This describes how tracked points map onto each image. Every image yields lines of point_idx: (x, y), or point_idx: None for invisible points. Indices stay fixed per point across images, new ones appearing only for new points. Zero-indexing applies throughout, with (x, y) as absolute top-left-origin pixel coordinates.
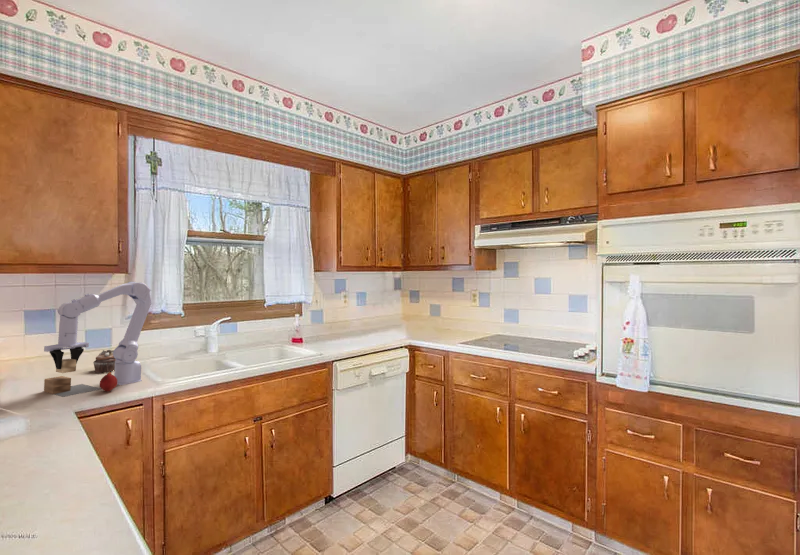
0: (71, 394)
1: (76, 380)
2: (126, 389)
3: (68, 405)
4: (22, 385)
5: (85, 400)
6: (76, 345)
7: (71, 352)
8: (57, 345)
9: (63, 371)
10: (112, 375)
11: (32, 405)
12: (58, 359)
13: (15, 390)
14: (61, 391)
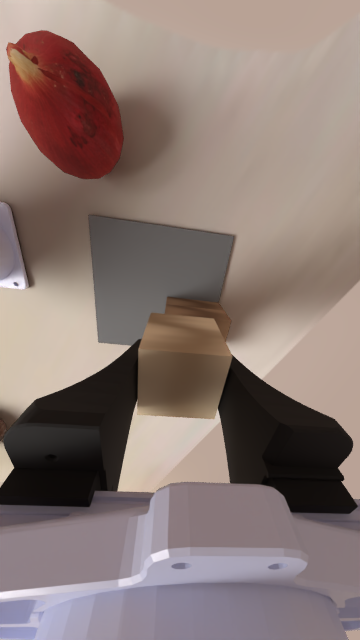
0: (200, 243)
1: None
2: (14, 104)
3: (318, 89)
4: (179, 432)
5: (234, 100)
6: (97, 542)
7: (122, 455)
8: (348, 614)
9: (213, 321)
10: (22, 43)
11: (330, 237)
12: (265, 383)
13: None
14: (194, 301)
